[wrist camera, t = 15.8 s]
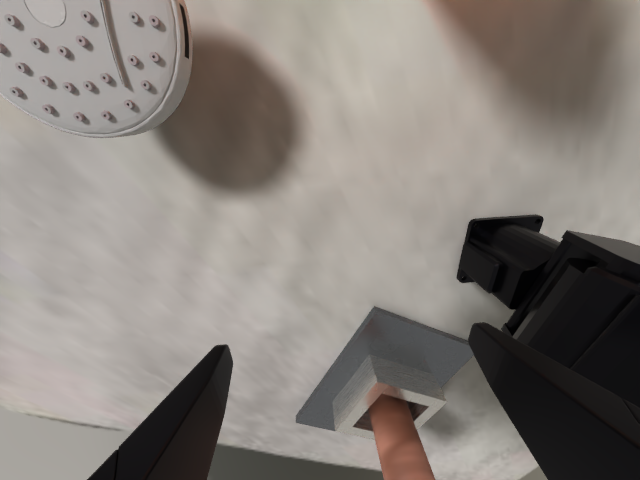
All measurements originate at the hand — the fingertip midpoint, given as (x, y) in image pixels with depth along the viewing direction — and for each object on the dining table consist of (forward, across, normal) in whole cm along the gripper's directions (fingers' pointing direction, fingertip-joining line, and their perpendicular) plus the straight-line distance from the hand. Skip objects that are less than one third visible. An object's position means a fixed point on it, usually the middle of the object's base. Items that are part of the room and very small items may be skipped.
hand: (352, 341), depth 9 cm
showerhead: (+13, +11, -12) cm, 21 cm away
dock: (+13, -6, +22) cm, 26 cm away
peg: (+12, -6, +22) cm, 26 cm away
